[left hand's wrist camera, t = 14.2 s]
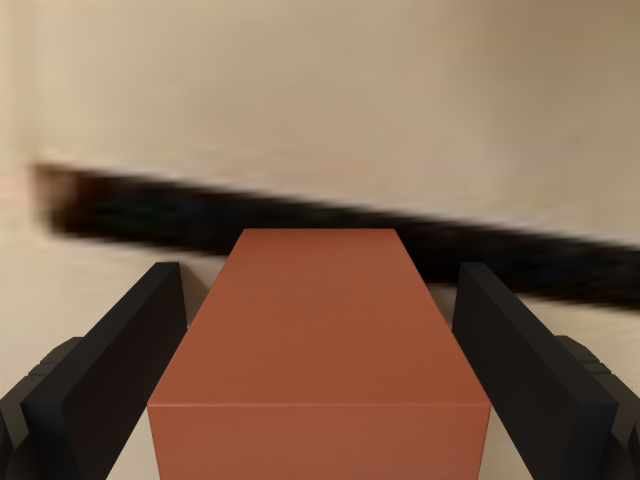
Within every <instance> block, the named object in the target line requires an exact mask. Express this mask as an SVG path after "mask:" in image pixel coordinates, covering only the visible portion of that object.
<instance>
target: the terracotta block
mask: <svg viewBox="0 0 640 480" xmlns="http://www.w3.org/2000/svg"><path fill="white" fill-rule="evenodd" d="M147 410H148V416H149V421H150V427H151V432H152V437H153V443H154V448H155V454H156V459H157V464H158V470H159V475H160V480H478V476H479V470H480V465H481V459H482V454H483V449H484V443H485V438H486V432H487V427H488V422H489V416H490V411H491V402H490V400H489V398H488V396H487V395H486V393H485V391H484V389H483V387H482V386H481V384H480V382H479V380H478V378H477V377H476V375H475V373H474V371H473V369H472V368H471V366H470V364H469V362H468V360H467V359H466V357H465V355H464V353H463V351H462V350H461V348H460V346H459V344H458V343H457V341H456V339H455V337H454V335H453V334H452V332H451V330H450V328H449V326H448V325H447V323H446V321H445V319H444V317H443V316H442V314H441V312H440V310H439V308H438V307H437V305H436V303H435V301H434V299H433V298H432V296H431V294H430V292H429V290H428V289H427V287H426V285H425V283H424V281H423V280H422V278H421V276H420V274H419V272H418V271H417V269H416V267H415V265H414V263H413V262H412V260H411V258H410V256H409V254H408V253H407V251H406V249H405V247H404V245H403V244H402V242H401V240H400V238H399V236H398V235H397V233H396V231H395V229H244V230H243V232H242V234H241V236H240V237H239V239H238V241H237V243H236V245H235V246H234V248H233V250H232V252H231V254H230V255H229V257H228V259H227V261H226V262H225V264H224V266H223V268H222V270H221V271H220V273H219V275H218V277H217V279H216V280H215V282H214V284H213V286H212V288H211V289H210V291H209V293H208V295H207V297H206V298H205V300H204V302H203V304H202V305H201V307H200V309H199V311H198V313H197V314H196V316H195V318H194V320H193V322H192V323H191V325H190V327H189V329H188V331H187V332H186V334H185V336H184V338H183V339H182V341H181V343H180V345H179V347H178V348H177V350H176V352H175V354H174V356H173V357H172V359H171V361H170V363H169V365H168V366H167V368H166V370H165V372H164V374H163V375H162V377H161V379H160V381H159V382H158V384H157V386H156V388H155V390H154V391H153V393H152V395H151V397H150V399H149V400H148V402H147Z"/></svg>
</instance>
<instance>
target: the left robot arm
mask: <svg viewBox="0 0 640 480" xmlns="http://www.w3.org/2000/svg"><path fill="white" fill-rule="evenodd" d="M187 331H188V330H187V323H186V315H185V307H184V300H183V292H182V285H181V277H180V269H179V262H156V263H155V264H154V265H153V266H152V267H151V268H150V269H149V270H148V271H147V272H146V273H145V274H144V275H143V276H142V277H141V278H140V280H139V281H138V282H137V283H136V284H135V285H134V286H133V287H132V288H131V289H130V290H129V291H128V292H127V293H126V294H125V295H124V296H123V297H122V298H121V299H120V300H119V301H118V302H117V303H116V304H115V305H114V306H113V307H112V308H111V309H110V310H109V311H108V312H107V314H106V315H105V316H104V317H103V318H102V319H101V320H100V321H99V322H98V323H97V324H96V325H95V326H94V327H93V328H92V329H91V330H90V331H89V332H88V333H87V334H86V335H85V336H84V337H73V338H71V339H69V340H68V341H66V342H64V343H62V344H61V345H59V346H57V347H56V348H54V349H53V350H52V351H51V352H50V353H49V354H48V355H47V356H46V357H45V358H44V359H42V360H41V361H40V364H37V365H36V366H35V367H34V368H33V369H32V370H31V371H30V372H29V373H28V376H25V377H24V378H23V379H22V380H21V381H20V382H18V383H17V384H16V385H15V386H14V387H13V388H12V389H11V390H10V391H9V392H8V393H7V394H6V395H5V396H4V397H3V398H2V399H1V400H0V480H106V478H107V477H108V475H109V473H110V471H111V469H112V467H113V466H114V464H115V462H116V460H117V458H118V457H119V455H120V453H121V451H122V449H123V448H124V446H125V444H126V442H127V440H128V439H129V437H130V435H131V433H132V431H133V430H134V428H135V426H136V424H137V422H138V421H139V419H140V417H141V415H142V413H143V412H144V410H145V408H146V406H147V402H148V400H149V399H150V397H151V395H152V393H153V391H154V390H155V388H156V386H157V384H158V382H159V381H160V379H161V377H162V375H163V374H164V372H165V370H166V368H167V366H168V365H169V363H170V361H171V359H172V357H173V356H174V354H175V352H176V350H177V348H178V347H179V345H180V343H181V341H182V339H183V338H184V336H185V334H186V332H187ZM452 333H453V335H454V337H455V339H456V340H457V342H458V344H459V346H460V348H461V349H462V351H463V353H464V355H465V357H466V358H467V360H468V362H469V364H470V366H471V367H472V369H473V371H474V373H475V375H476V376H477V378H478V380H479V382H480V384H481V385H482V387H483V389H484V391H485V393H486V395H487V396H488V398H489V400H490V402H491V404H492V405H493V407H494V409H495V411H496V413H497V414H498V416H499V418H500V420H501V422H502V423H503V425H504V427H505V429H506V431H507V432H508V434H509V436H510V438H511V440H512V441H513V443H514V445H515V447H516V449H517V450H518V452H519V454H520V456H521V458H522V459H523V461H524V463H525V465H526V467H527V469H528V470H529V472H530V474H531V476H532V478H533V479H534V480H640V398H639V397H638V396H637V395H636V394H635V393H633V392H632V391H631V390H630V389H629V388H628V387H627V386H626V385H625V384H624V383H623V382H622V381H621V380H620V379H619V378H618V377H617V376H616V375H615V374H612V373H611V371H610V370H609V369H608V368H607V367H606V366H605V365H604V364H603V363H600V360H599V359H598V358H597V357H596V356H595V355H594V354H592V353H591V352H590V351H589V350H588V349H587V348H586V347H585V346H583V345H581V344H580V343H578V342H576V341H574V340H573V339H571V338H569V337H568V336H554V335H553V334H552V333H551V332H550V331H549V330H548V329H547V328H546V327H545V326H544V324H543V323H542V322H541V321H540V320H539V319H538V318H537V317H536V316H535V315H534V314H533V313H532V312H531V311H530V310H529V309H528V308H527V307H526V306H525V305H524V304H523V303H522V302H521V301H520V300H519V299H518V298H517V297H516V296H515V295H514V294H513V293H512V291H511V290H510V289H509V288H508V287H507V286H506V285H505V284H504V283H503V282H502V281H501V280H500V279H499V278H498V277H497V276H496V275H495V274H494V273H493V272H492V271H491V270H490V269H489V268H488V267H487V266H486V265H485V264H484V263H483V262H461V265H460V272H459V280H458V287H457V295H456V303H455V310H454V318H453V326H452Z"/></svg>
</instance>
